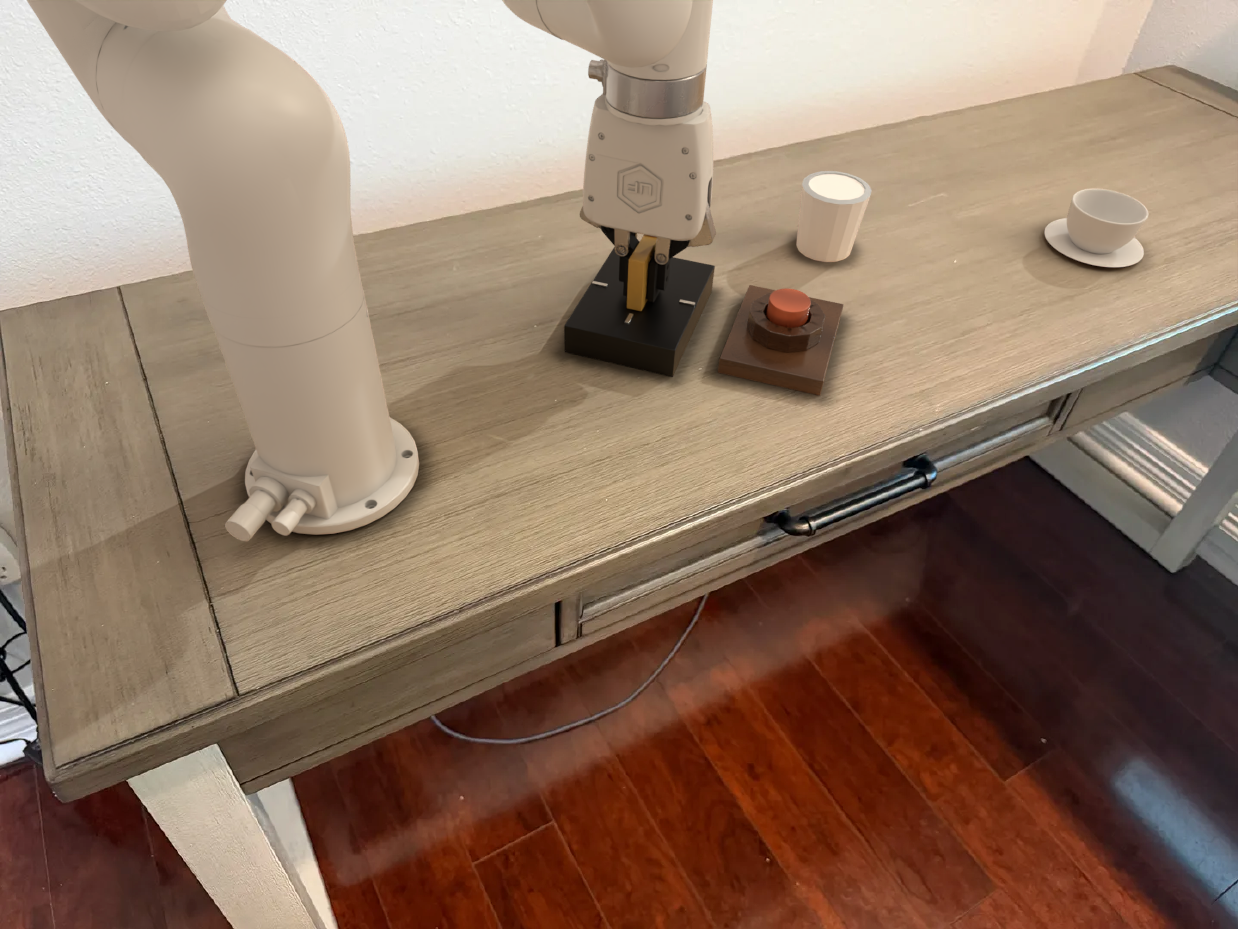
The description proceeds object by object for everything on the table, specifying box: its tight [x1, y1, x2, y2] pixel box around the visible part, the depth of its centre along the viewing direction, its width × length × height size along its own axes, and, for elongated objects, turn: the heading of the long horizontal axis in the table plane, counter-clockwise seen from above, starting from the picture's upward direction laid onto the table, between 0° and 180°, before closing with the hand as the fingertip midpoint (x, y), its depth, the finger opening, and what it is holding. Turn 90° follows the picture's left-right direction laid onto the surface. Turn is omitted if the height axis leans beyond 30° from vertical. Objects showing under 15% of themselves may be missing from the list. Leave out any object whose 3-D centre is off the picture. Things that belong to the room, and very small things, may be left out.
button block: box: [717, 284, 844, 396], centre depth 80 cm, size 12×9×4 cm
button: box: [767, 287, 811, 328], centre depth 78 cm, size 4×4×2 cm
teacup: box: [1044, 187, 1149, 268], centre depth 93 cm, size 10×10×5 cm
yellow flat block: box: [627, 234, 657, 311], centre depth 79 cm, size 6×1×5 cm, turn 162°
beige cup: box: [795, 170, 872, 263], centre depth 90 cm, size 7×7×7 cm
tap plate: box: [563, 246, 716, 378], centre depth 82 cm, size 14×10×3 cm
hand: (643, 290), depth 80 cm, fingers closed
